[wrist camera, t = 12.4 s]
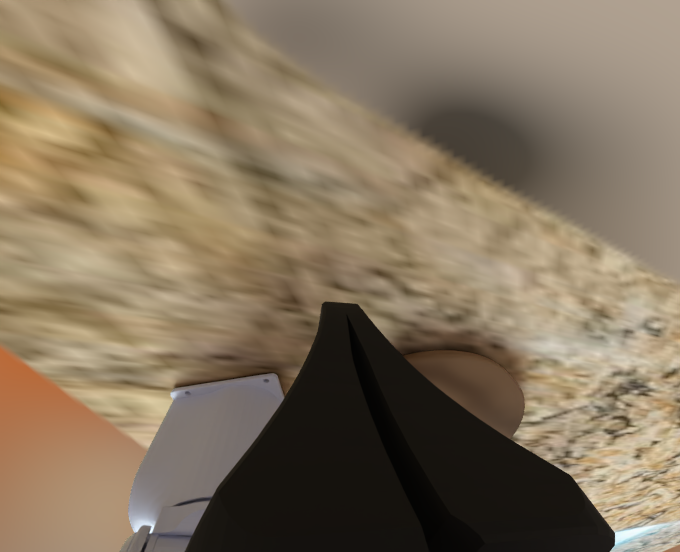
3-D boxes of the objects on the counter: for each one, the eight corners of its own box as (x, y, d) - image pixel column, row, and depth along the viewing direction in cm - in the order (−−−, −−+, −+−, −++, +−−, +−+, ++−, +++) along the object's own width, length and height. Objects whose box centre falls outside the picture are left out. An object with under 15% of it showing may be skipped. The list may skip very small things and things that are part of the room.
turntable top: (435, 488, 37) (447, 521, 33) (279, 467, 30) (275, 507, 27) (560, 382, 28) (593, 414, 24) (377, 319, 21) (389, 352, 18)
